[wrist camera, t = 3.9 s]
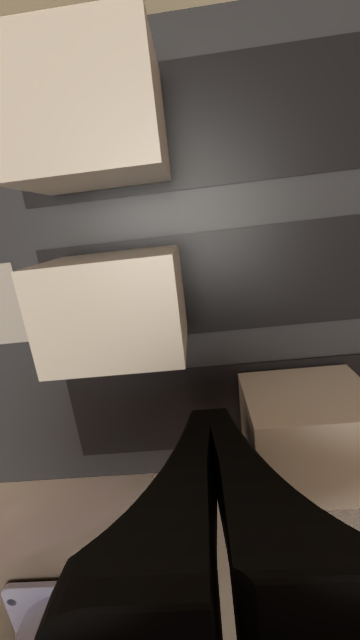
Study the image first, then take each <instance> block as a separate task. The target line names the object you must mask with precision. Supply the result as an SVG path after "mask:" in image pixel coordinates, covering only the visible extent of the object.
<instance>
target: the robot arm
mask: <svg viewBox="0 0 360 640" xmlns="http://www.w3.org/2000/svg"><path fill="white" fill-rule="evenodd" d="M217 500H218V505H219V511H220V516H221V521H222V527H223V532H224V537H225V543H226V548H227V554H228V561H229V567H230V577H231V586H232V596H233V606H234V615H235V625H236V635H237V640H360V531H358V530H356V529H354V528H352V527H351V526H349V525H347V524H345V523H343V522H342V521H340V520H339V519H337V518H335V517H334V516H332V515H331V514H329V513H328V512H326V511H325V510H323V509H322V508H320V507H319V506H317V505H316V504H315V503H313V502H312V501H311V500H309V499H308V498H307V497H305V496H304V495H303V494H301V493H300V492H299V491H297V490H296V489H295V488H294V487H292V486H291V485H290V484H289V483H288V482H287V481H285V480H284V479H283V478H282V477H281V476H280V475H279V474H278V473H277V472H276V471H275V470H274V469H273V468H272V467H271V466H270V465H269V464H268V463H267V462H266V461H265V460H264V459H263V458H262V457H261V456H260V455H259V454H258V452H257V451H256V450H255V449H254V448H253V447H252V445H251V444H250V443H249V442H248V440H247V439H246V438H245V436H244V435H243V434H242V432H241V431H240V430H239V428H238V427H237V425H236V424H235V422H234V420H233V419H232V417H231V415H230V413H229V411H228V410H227V409H226V408H217V409H204V410H193V411H192V412H191V413H190V415H189V418H188V421H187V424H186V426H185V428H184V430H183V433H182V435H181V437H180V439H179V440H178V442H177V444H176V446H175V448H174V450H173V451H172V453H171V455H170V456H169V458H168V460H167V461H166V463H165V464H164V466H163V467H162V469H161V470H160V472H159V473H158V475H157V476H156V477H155V479H154V480H153V481H152V482H151V484H150V485H149V486H148V488H147V489H146V490H145V491H144V492H143V493H142V494H141V496H140V497H139V498H138V499H137V500H136V501H135V502H134V504H133V505H132V506H131V507H130V508H129V509H128V510H127V511H126V512H125V513H124V514H123V515H122V516H120V517H119V518H118V519H117V520H116V521H115V522H114V523H113V524H112V525H111V526H110V527H109V528H108V529H106V530H105V531H104V532H103V533H102V534H100V535H99V536H98V537H97V538H95V539H94V540H93V541H91V542H90V543H89V544H87V545H86V546H85V547H84V548H82V549H81V550H80V551H78V552H77V553H76V554H74V555H73V556H71V557H70V558H69V559H68V560H67V562H66V564H65V566H64V568H63V570H62V572H61V574H60V576H59V578H58V580H57V581H40V582H16V583H8V584H6V585H5V586H4V588H3V590H2V592H1V596H2V599H3V602H4V604H5V607H6V610H7V613H8V615H9V618H10V621H11V623H12V626H13V629H14V631H15V634H16V637H15V639H14V640H223V637H222V624H221V611H220V597H219V584H218V571H217Z"/></svg>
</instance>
